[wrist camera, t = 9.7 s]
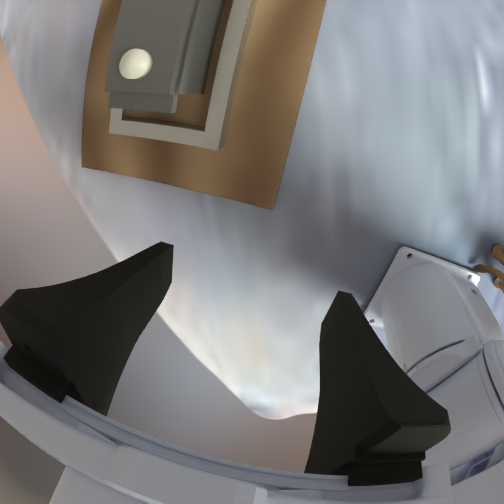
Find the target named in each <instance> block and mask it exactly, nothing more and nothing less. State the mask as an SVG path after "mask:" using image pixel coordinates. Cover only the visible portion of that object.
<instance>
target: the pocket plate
mask: <svg viewBox="0 0 504 504" xmlns="http://www.w3.org/2000/svg"><path fill="white" fill-rule="evenodd" d="M122 1H123V0H103V2H102V5H101V9H100V13H99V17H98V21H97V25H96V29H95V34H94V39H93V44H92V49H91V55H90V61H89V67H88V74H87V81H86V90H85V100H84V112H83V128H82V167H85V168H90V169H95V170H101V171H106V172H111V173H116V174H121V175H126V176H131V177H136V178H141V179H146V180H150V181H155V182H160V183H164V184H169V185H173V186H178V187H182V188H186V189H191V190H195V191H199V192H203V193H207V194H212V195H216V196H220V197H224V198H228V199H232V200H236V201H240V202H244V203H247V204H251V205H255V206H259V207H263V208H266V209H270V210H273V207H274V204H275V200H276V196H277V193H278V189H279V185H280V181H281V177H282V174H283V170H284V166H285V162H286V158H287V154H288V151H289V147H290V143H291V139H292V135H293V131H294V127H295V124H296V120H297V116H298V112H299V108H300V104H301V100H302V96H303V92H304V88H305V84H306V81H307V77H308V73H309V69H310V65H311V61H312V57H313V53H314V49H315V45H316V41H317V37H318V32H319V28H320V24H321V20H322V16H323V12H324V8H325V4H326V0H226V1H225V4H224V8H223V12H222V15H221V19H220V23H219V27H218V31H217V35H216V39H215V44H214V48H213V52H212V57H211V61H210V66H209V71H208V75H207V80H206V85H205V90H204V94H179V95H178V101H177V108H176V113H162V112H153V111H143V110H132V109H118V108H108V103H109V94H110V91H105V83H106V76H107V69H108V63H109V57H110V52H111V47H112V42H113V37H114V32H115V28H116V23H117V19H118V15H119V11H120V8H121V4H122Z"/></svg>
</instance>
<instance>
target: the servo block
mask: <svg viewBox="0 0 504 504" xmlns="http://www.w3.org/2000/svg"><path fill="white" fill-rule="evenodd" d="M225 1H226V0H123V1H122V4H121V8H120V11H119V15H118V19H117V23H116V28H115V32H114V37H113V42H112V47H111V52H110V57H109V63H108V69H107V76H106V83H105V91H110V94H109V103H108V108H118V109H132V110H143V111H153V112H162V113H176V108H177V101H178V95H179V94H204V90H205V85H206V80H207V75H208V71H209V66H210V61H211V57H212V52H213V48H214V44H215V39H216V35H217V31H218V27H219V23H220V19H221V15H222V12H223V8H224V4H225Z"/></svg>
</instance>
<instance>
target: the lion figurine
mask: <svg viewBox="0 0 504 504" xmlns="http://www.w3.org/2000/svg"><path fill="white" fill-rule="evenodd" d="M502 251H503V250H502V247H501V246H500V245H495V246H494V248H493V250H492V255H493V256H494V257H495V258H496V259H497V260H499V262H500V263H501V264H503V265H504V254H503V253H502ZM473 271H474V272H481V273H492V274H494V275H496V276H497V278H496V279H495V281H494V286H495V287H496V288H500V289H501V290H502V291H503V293H504V274H503V273H502V272H501V271H499V270H497V269H495V268H492V267H488V266H484V265H481V264H478V265H475V266H474V267H473Z"/></svg>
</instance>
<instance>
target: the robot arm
mask: <svg viewBox="0 0 504 504" xmlns="http://www.w3.org/2000/svg"><path fill="white" fill-rule="evenodd" d="M173 247H174V245H171V244H167V243H164V242H159V243H157V244H155V245H153V246H151V247H149V248H147V249H145V250H143V251H141V252H139V253H137V254H135V255H134V256H132V257H130V258H128V259H126V260H124V261H121V262H119V263H117V264H115V265H113V266H111V267H109V268H107V269H104V270H102V271H99V272H97V273H94V274H91V275H88V276H86V277H83V278H79V279H76V280H72V281H69V282H65V283H61V284H56V285H51V286H45V287H39V288H30V289H19V290H16V291H15V292H14V293H13V294H12V295H11V296H10V297H9V298H8V299H7V301H5V302H4V304H3V305H2V306H1V307H0V322H1V324H2V326H3V328H4V330H5V332H6V334H7V335H8V337H9V339H10V341H11V343H12V344H13V346H12V347H11V348H10V349H8V348H7V347H6V346H5V345H4V344H3V343H2V342H1V341H0V416H1V417H2V418H4V419H5V420H6V421H7V422H8V423H9V424H10V425H12V426H13V427H14V428H15V429H16V430H17V431H19V432H20V433H21V434H22V435H24V436H25V437H26V438H27V439H29V440H30V441H32V442H33V443H34V444H35V445H37V446H38V447H39V448H41V449H42V450H44V451H45V452H46V453H48V454H49V455H51V456H52V457H54V458H55V459H57V460H58V461H60V462H61V463H63V464H64V465H66V468H65V470H64V472H63V474H62V476H61V478H60V481H59V483H58V485H57V487H56V490H55V492H54V494H53V496H52V499H51V501H50V503H49V504H504V340H503V336H502V331H501V328H500V326H499V324H498V322H497V320H496V318H495V317H494V315H493V313H492V311H491V310H490V308H489V306H488V305H487V303H486V301H485V300H484V298H483V296H482V295H481V293H480V291H479V290H478V288H477V287H476V285H477V283H478V282H479V280H480V275H479V274H478V273H476V272H474V271H471V270H469V269H466V268H464V267H461V266H458V265H456V264H453V263H450V262H448V261H445V260H442V259H440V258H437V257H434V256H431V255H428V254H426V253H423V252H420V251H417V250H414V249H411V248H409V247H405V246H404V247H401V248H400V249H399V250H398V252H397V254H396V256H395V258H394V260H393V262H392V263H391V265H390V267H389V269H388V271H387V273H386V275H385V277H384V279H383V280H382V282H381V284H380V286H379V288H378V289H377V291H376V293H375V295H374V296H373V298H372V300H371V302H370V303H369V305H368V307H367V308H366V310H365V312H364V313H363V312H362V310H361V309H360V307H359V305H358V303H357V302H356V300H355V298H354V297H353V295H352V294H350V293H346V292H342V291H338V293H337V295H336V297H335V299H334V301H333V303H332V305H331V307H330V308H329V310H328V312H327V314H326V316H325V318H324V320H323V322H322V324H321V333H320V343H319V353H320V396H319V404H318V412H317V418H316V424H315V430H314V435H313V440H312V444H311V449H310V453H309V457H308V461H307V465H306V468H305V471H304V473H297V472H289V471H281V470H275V469H269V468H263V467H257V466H252V465H247V464H242V463H237V462H233V461H228V460H224V459H220V458H216V457H213V456H209V455H205V454H202V453H198V452H195V451H192V450H188V449H185V448H182V447H179V446H176V445H173V444H170V443H167V442H165V441H162V440H159V439H156V438H154V437H152V436H149V435H146V434H144V433H142V432H139V431H137V430H134V429H132V428H130V427H128V426H125V425H123V424H121V423H119V422H116V421H114V420H112V419H110V418H108V417H107V413H108V410H109V407H110V404H111V401H112V398H113V395H114V392H115V389H116V387H117V384H118V382H119V379H120V376H121V374H122V372H123V369H124V367H125V365H126V362H127V360H128V358H129V356H130V354H131V352H132V349H133V347H134V345H135V343H136V342H137V340H138V338H139V336H140V335H141V333H142V332H143V330H144V329H145V327H146V325H147V324H148V322H149V321H150V319H151V318H152V316H153V315H154V313H155V312H156V310H157V309H158V307H159V306H160V304H161V303H162V301H163V299H164V297H165V295H166V293H167V291H168V289H169V287H170V285H171V283H172V264H173ZM409 253H411V255H410V256H407V255H408V254H409ZM468 275H469V276H468ZM371 319H373V320H371ZM371 325H373V326H378V327H383V328H384V329H385V333H386V338H387V342H388V347H389V352H390V354H389V352H388V351H387V350H386V348H385V347H384V345H383V344H382V342H381V341H380V339H379V338H378V336H377V335H376V333H375V332H374V330H373V329H372V327H371ZM115 443H116V444H118V445H120V446H119V447H117V446H116V444H115ZM266 489H269V490H276V492H269V491H267V490H266Z"/></svg>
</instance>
